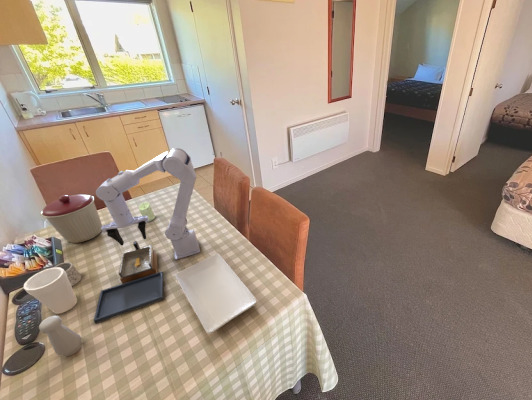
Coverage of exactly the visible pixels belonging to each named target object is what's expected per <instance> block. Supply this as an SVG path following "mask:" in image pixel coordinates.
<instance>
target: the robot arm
mask: <svg viewBox="0 0 532 400" xmlns="http://www.w3.org/2000/svg"><path fill="white" fill-rule="evenodd" d="M157 171H158V172H161V173H168V174H170V175H171V176H173V177H175V178H176V179H178V180H179V181H180V183H179V188H178V191H177V195H176V199H175V200H176V201H175V204H174V208H173V212H172V217H170V220H169V223H168V226H167V228H166V230H165V231H164V236H165V237H166V238H167V239H169V240H170V243H171V246H172V249H173V251H174V260H179V259H180V260H181V259H183V258H186V257H190V256H193V255H196V254H200V253H201V249H200V242H199V240H198V238H197V237H198V236H197V234H196V230H195V229H188V228H187V225H188V219H187V216H188V215H187V214H188V211H189V206H190V203H191V198H192V194H193V191H194V187H195V183H196V180H197V173H196V170H195V168H194V166H193V163H192V159H191V156H190V155H189V154H188V153H187V151H186V150H184V149H183V148H180V147H174V148H171V150H168V151H165V152H163V153H161V154H159V155H158V156H156V157H154V158H152V159H151V160H149V161H147V162H145V163H144V164H142V165H141V166H139V167H138V168H136V169H134V170H130V169H126V170H125V171H123V170H120V171H119V172H118V173H117V175H115V176H113V177H112V178H110V177H109V178H107V179H106V180H105V181H103V182H102V183H101V184H100V186H98V187H97V188H96V190H95V196H96V197H97V198H98V199H99V200H101V201H103V203H104V204H105V207H106V208H107V211H108V213H109V215H110V216H111V218H112V220H113V221H112V222H109V223H107V224H104V225H102V227H101V229H102V230H101V232H102V233H104V234H105V233H106V235H107V237H109V238H111V239H113V240H114V241H116V242H117V243H118V244H119V245H120V247H121V246H124V243H125V242H124V239H123V237H122V236H121V234H120V231H119V229H124V228H128V227H130V226H133V225H137V229H138V231H139V232H140V233H141V235H142V239H143V240H146V239H147V234H146V226H147V223H149V222H150V221H149V219H148V217H147V215H146V216H142V215H140V216H139V215H138V216H133V214H132V212H131V210H130V208H129V206H128V203H127V201H126V199H125V197H124V195H123V194H124V193H125V192H127V191H128V190H130V189H132V188H134V187H136V186H138V185H139V184H140V180H141V179H143V178H145V177H147V176H149V175H151V174H153V173H156V172H157Z"/></svg>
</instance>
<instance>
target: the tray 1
mask: <svg viewBox="0 0 532 400" xmlns="http://www.w3.org/2000/svg"><path fill="white" fill-rule="evenodd" d="M164 291H165V289H164V272H163V271H159V272H158V271H157V273H155V274H152V275H149V276H146V277H143V278H139V279H136V280H133V281H130V282H127V283H124V284H122V283H121V284H118V285H115V286H111V287H108V288H105V289H101V290H100V293H99V297H98V301H97V305H96V310H95V314H94V318H93V322H94V323H95V324H98V323H100V322H104V321H107V320H109V319H112V318H115V317H117V316H120V315H124V314H127V313H129V312H132V311H136V310H138V309H141V308H143V307H146V306H149V305H152V304H154V303H157V302H159V301H163V300H164V299H165V298H164V297H165V296H164V295H165V294H164V293H165V292H164Z"/></svg>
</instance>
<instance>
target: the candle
mask: <svg viewBox="0 0 532 400" xmlns="http://www.w3.org/2000/svg"><path fill="white" fill-rule="evenodd" d="M138 210H139V212H140V216H146V215H147V217H148V219H149V221H148V222H151V221H153V220H154V219H155V218H156V216H155V214H154V210H153V208H152V205H151V204H150V202H148V201H145V202H142V203H141V204H140V205H139V206H138Z"/></svg>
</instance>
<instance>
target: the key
mask: <svg viewBox="0 0 532 400" xmlns="http://www.w3.org/2000/svg"><path fill="white" fill-rule="evenodd" d="M139 265H140V258H137V259H136V263H135V266H136V267H137V266H139Z"/></svg>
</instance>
